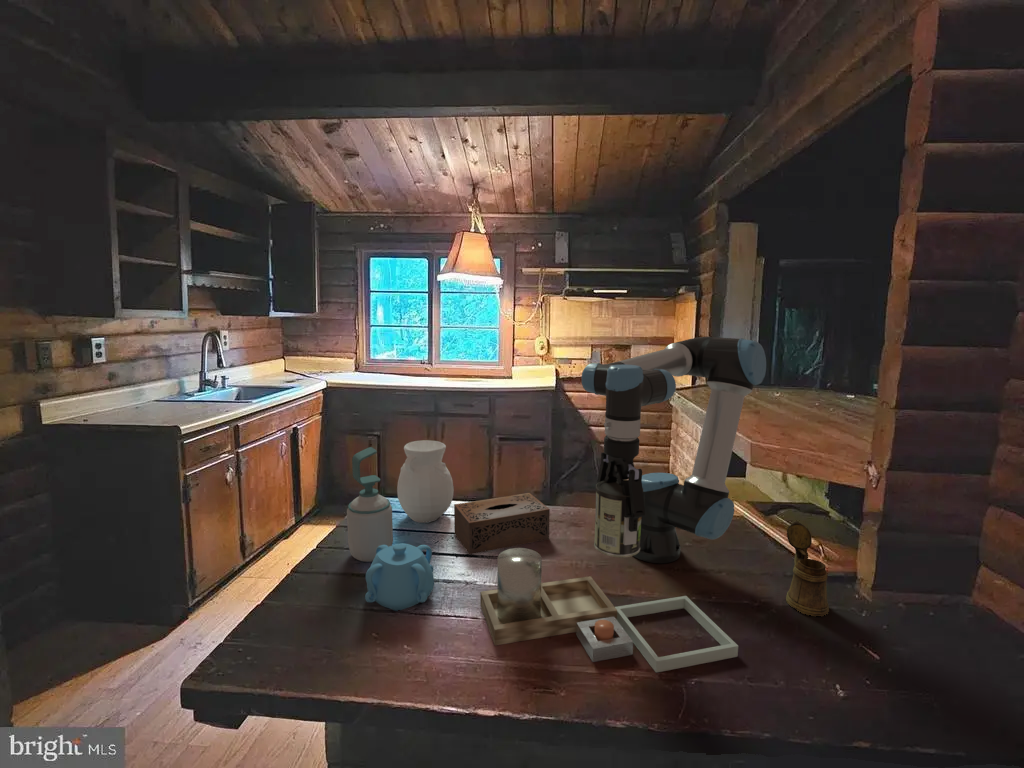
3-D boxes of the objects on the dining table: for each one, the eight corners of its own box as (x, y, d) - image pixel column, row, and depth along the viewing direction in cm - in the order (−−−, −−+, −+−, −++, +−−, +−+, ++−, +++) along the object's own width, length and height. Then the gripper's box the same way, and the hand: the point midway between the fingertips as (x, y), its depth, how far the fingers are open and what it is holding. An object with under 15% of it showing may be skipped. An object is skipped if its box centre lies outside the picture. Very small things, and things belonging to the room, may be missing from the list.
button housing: (613, 628, 119) (613, 616, 118) (632, 654, 110) (633, 641, 110) (576, 634, 116) (576, 622, 116) (592, 662, 108) (593, 648, 107)
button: (608, 635, 116) (608, 618, 115) (616, 646, 112) (617, 629, 111) (591, 638, 115) (591, 621, 114) (598, 649, 111) (599, 632, 110)
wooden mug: (806, 586, 137) (813, 520, 134) (836, 617, 124) (845, 546, 121) (771, 585, 137) (778, 520, 134) (797, 616, 124) (805, 545, 121)
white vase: (428, 534, 164) (427, 457, 160) (386, 520, 174) (383, 447, 170) (465, 513, 180) (464, 442, 176) (424, 502, 190) (422, 434, 185)
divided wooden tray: (590, 589, 134) (590, 576, 134) (616, 625, 120) (617, 610, 119) (480, 605, 127) (480, 591, 126) (494, 645, 113) (494, 629, 112)
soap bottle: (400, 557, 150) (397, 451, 144) (356, 569, 143) (352, 459, 138) (384, 540, 160) (380, 441, 155) (343, 551, 153) (338, 447, 148)
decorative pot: (441, 581, 138) (440, 532, 135) (425, 618, 122) (424, 564, 120) (380, 578, 139) (378, 529, 137) (357, 614, 123) (354, 560, 121)
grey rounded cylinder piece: (533, 599, 128) (534, 545, 125) (546, 624, 118) (547, 566, 116) (492, 605, 125) (493, 550, 123) (503, 631, 116) (503, 572, 113)
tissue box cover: (469, 555, 152) (469, 523, 150) (454, 534, 165) (454, 504, 163) (549, 539, 162) (549, 509, 160) (529, 521, 175) (529, 492, 173)
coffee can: (638, 538, 123) (641, 480, 120) (642, 560, 113) (645, 497, 110) (593, 534, 124) (595, 477, 122) (593, 555, 114) (595, 494, 112)
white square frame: (685, 605, 128) (685, 595, 128) (737, 656, 110) (738, 645, 110) (613, 616, 123) (614, 607, 123) (655, 672, 105) (656, 661, 105)
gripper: (583, 425, 123) (580, 514, 127) (633, 452, 102) (628, 559, 106) (612, 423, 126) (608, 511, 130) (667, 449, 105) (660, 554, 108)
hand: (617, 532), depth 118 cm, fingers closed on coffee can, 10 cm apart
